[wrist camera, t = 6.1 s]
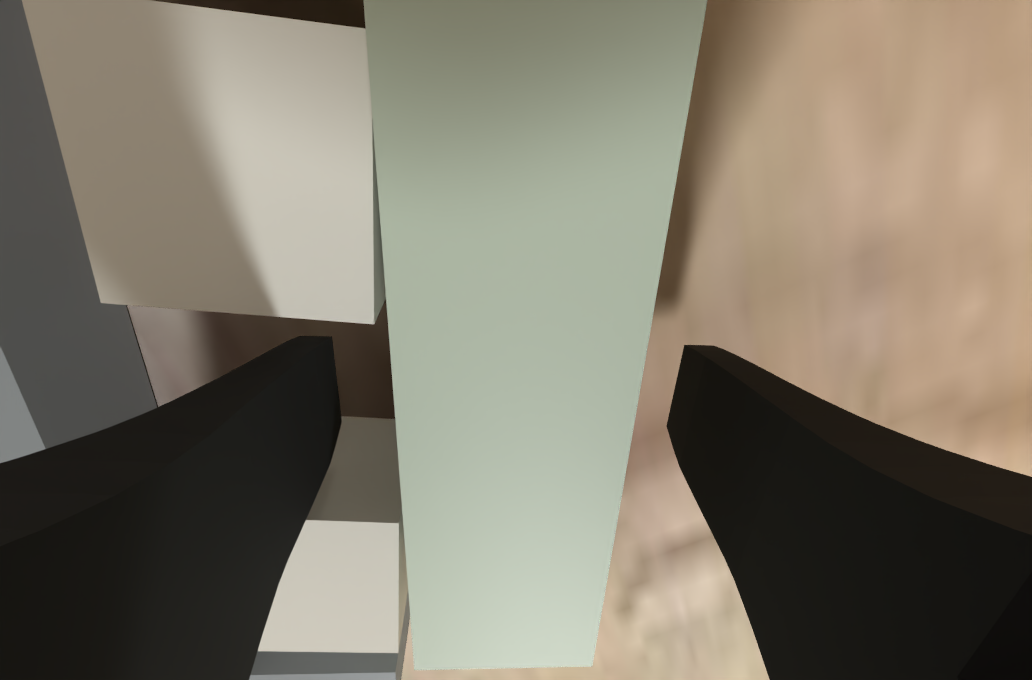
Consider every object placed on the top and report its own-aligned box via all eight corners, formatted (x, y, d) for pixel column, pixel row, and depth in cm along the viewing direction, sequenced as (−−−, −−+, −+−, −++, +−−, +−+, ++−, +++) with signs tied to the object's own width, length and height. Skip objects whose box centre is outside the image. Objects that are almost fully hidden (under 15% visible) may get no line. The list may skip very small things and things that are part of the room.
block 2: (419, 417, 13) (398, 523, 10) (416, 533, 15) (398, 653, 12) (255, 408, 13) (180, 515, 10) (272, 527, 15) (213, 650, 11)
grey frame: (372, -141, 8) (317, -245, 6) (412, 596, 16) (398, 700, 13) (-108, -181, 8) (-421, -317, 5) (173, 598, 15) (107, 707, 13)
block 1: (409, 45, 10) (371, 29, 6) (404, 255, 11) (374, 324, 8) (177, 15, 9) (17, -17, 6) (210, 238, 11) (100, 303, 8)
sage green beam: (636, -54, 9) (730, -136, 6) (568, 530, 15) (592, 666, 12) (406, -67, 9) (350, -163, 5) (432, 530, 15) (414, 670, 12)
